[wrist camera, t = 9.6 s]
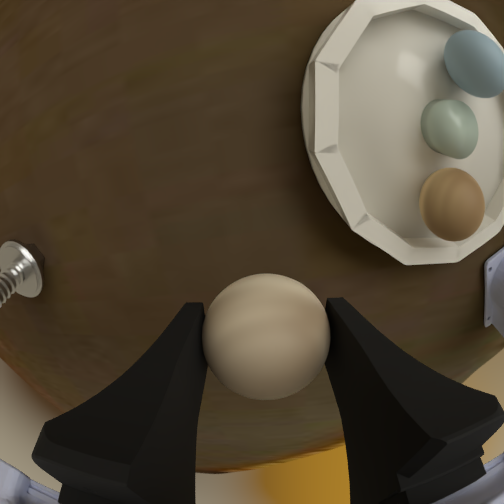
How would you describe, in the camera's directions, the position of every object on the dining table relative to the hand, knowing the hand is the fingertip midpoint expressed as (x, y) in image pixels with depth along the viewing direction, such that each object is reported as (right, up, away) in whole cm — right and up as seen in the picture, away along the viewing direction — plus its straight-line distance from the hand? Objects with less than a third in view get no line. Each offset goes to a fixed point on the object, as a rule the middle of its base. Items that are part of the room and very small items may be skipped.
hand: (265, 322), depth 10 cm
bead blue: (+13, +15, +1) cm, 19 cm away
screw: (-18, +2, +8) cm, 20 cm away
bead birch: (0, +1, +1) cm, 1 cm away
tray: (+11, +11, +4) cm, 16 cm away
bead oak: (+11, +6, +6) cm, 14 cm away
